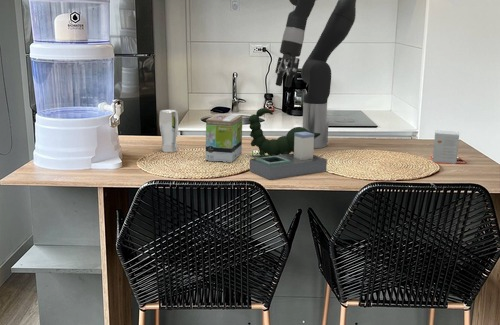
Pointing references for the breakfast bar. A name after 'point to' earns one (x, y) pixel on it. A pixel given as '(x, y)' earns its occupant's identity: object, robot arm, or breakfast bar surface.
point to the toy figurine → (272, 146)
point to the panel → (286, 166)
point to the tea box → (223, 137)
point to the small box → (445, 146)
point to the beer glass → (169, 130)
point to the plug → (303, 145)
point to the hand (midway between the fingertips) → (282, 86)
